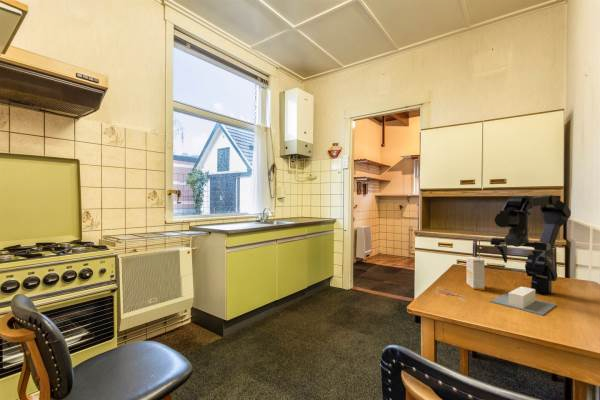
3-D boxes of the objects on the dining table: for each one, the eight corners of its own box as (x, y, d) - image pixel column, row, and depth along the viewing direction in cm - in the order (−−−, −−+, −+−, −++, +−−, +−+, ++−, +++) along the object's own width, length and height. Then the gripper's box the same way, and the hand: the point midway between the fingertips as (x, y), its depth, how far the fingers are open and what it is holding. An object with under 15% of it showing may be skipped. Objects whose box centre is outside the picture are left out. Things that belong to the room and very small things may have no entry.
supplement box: (485, 290, 124) (485, 260, 124) (473, 289, 125) (473, 259, 125) (477, 284, 132) (477, 256, 132) (466, 284, 133) (466, 256, 133)
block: (521, 286, 113) (508, 292, 106) (535, 289, 109) (523, 296, 102) (521, 297, 113) (508, 304, 106) (535, 300, 109) (523, 308, 102)
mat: (506, 293, 119) (506, 292, 119) (556, 305, 106) (556, 304, 106) (490, 301, 110) (490, 300, 110) (542, 315, 97) (542, 314, 97)
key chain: (432, 294, 120) (432, 292, 120) (441, 290, 124) (441, 288, 124) (465, 303, 110) (465, 300, 110) (473, 299, 114) (473, 296, 114)
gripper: (484, 225, 118) (484, 263, 118) (541, 229, 103) (541, 272, 103) (495, 224, 125) (496, 259, 125) (551, 227, 110) (551, 268, 110)
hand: (518, 264), depth 115 cm, fingers open, 9 cm apart
